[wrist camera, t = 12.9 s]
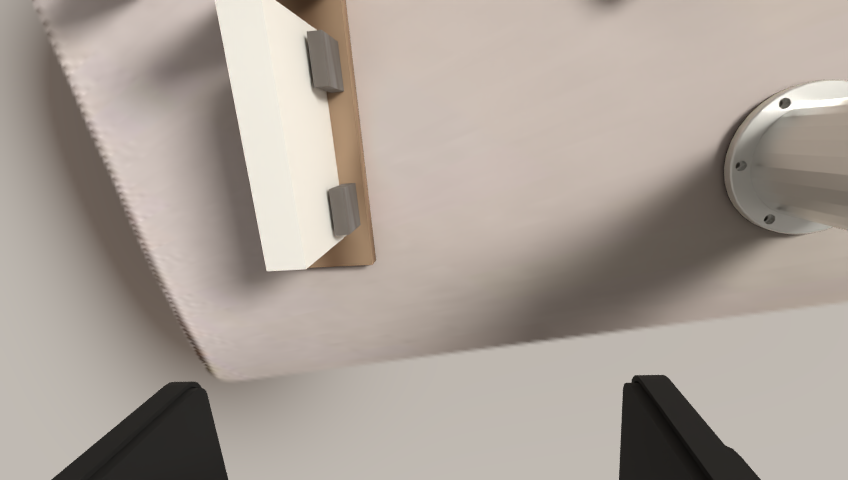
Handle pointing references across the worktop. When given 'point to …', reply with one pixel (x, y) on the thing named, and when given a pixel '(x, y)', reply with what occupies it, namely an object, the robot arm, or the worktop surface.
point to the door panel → (281, 130)
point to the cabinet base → (340, 129)
